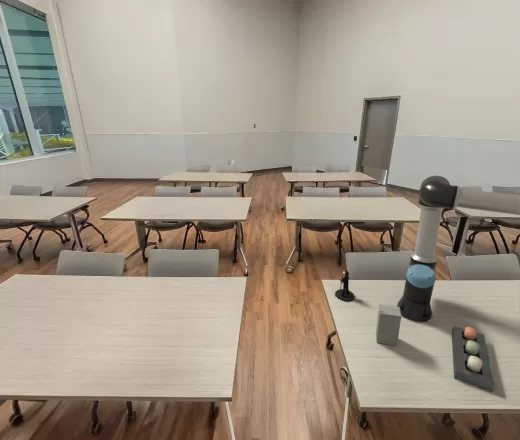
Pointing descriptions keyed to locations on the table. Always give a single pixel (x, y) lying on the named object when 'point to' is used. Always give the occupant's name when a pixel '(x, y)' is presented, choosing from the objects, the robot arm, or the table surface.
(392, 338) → the skincare box
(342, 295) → the figurine
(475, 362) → the white glossy ball
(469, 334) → the coral button
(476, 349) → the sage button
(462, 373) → the panel
